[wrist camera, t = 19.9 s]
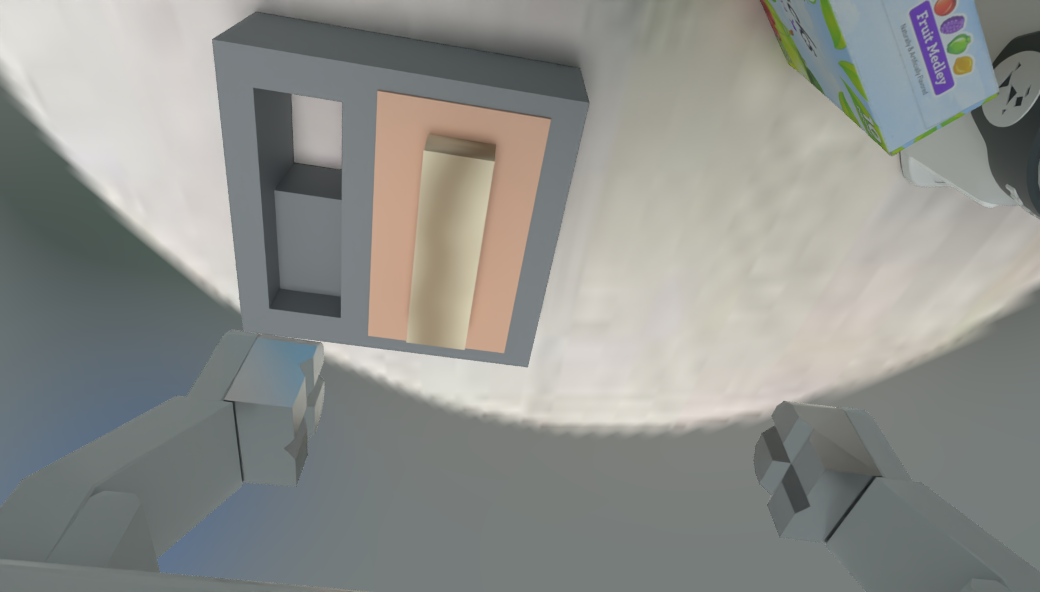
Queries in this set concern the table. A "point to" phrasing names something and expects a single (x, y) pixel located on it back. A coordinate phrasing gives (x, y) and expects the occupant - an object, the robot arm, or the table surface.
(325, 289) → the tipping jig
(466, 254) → the maple bar
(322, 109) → the table surface
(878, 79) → the snack box
